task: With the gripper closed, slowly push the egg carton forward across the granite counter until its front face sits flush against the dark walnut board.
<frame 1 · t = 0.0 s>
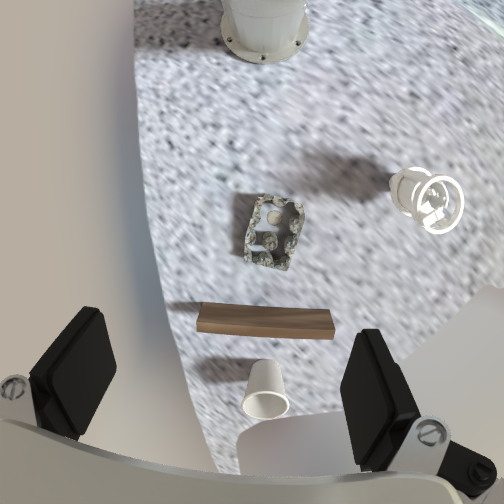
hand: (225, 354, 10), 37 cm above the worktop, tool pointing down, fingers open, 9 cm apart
egg carton: (273, 227, 48), on the worktop
dixie cup: (265, 368, 58), on the worktop
white plastic bottle: (397, 183, 43), on the worktop
walnut board: (266, 311, 53), on the worktop
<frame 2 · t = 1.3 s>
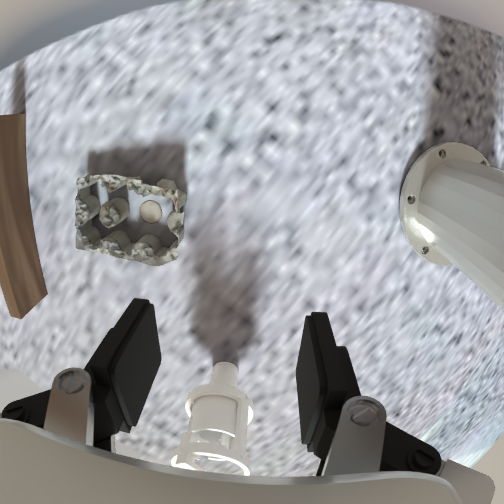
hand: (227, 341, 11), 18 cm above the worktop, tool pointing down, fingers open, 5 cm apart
egg carton: (136, 210, 28), on the worktop
white plastic bottle: (225, 369, 35), on the worktop
walnut board: (25, 209, 28), on the worktop
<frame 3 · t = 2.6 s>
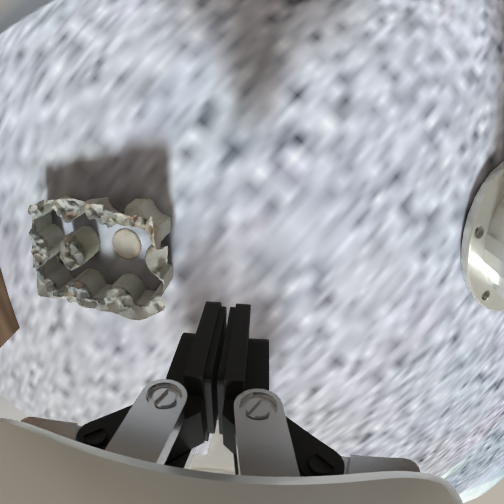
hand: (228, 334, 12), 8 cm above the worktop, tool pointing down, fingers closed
egg carton: (109, 242, 20), on the worktop
white plastic bottle: (229, 425, 27), on the worktop
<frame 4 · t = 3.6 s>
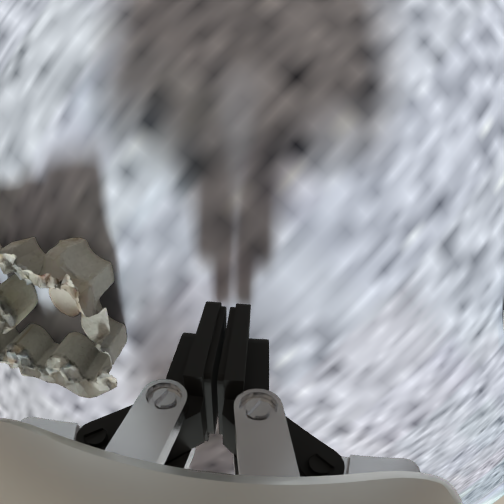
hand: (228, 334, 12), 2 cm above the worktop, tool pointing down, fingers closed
egg carton: (48, 293, 14), on the worktop
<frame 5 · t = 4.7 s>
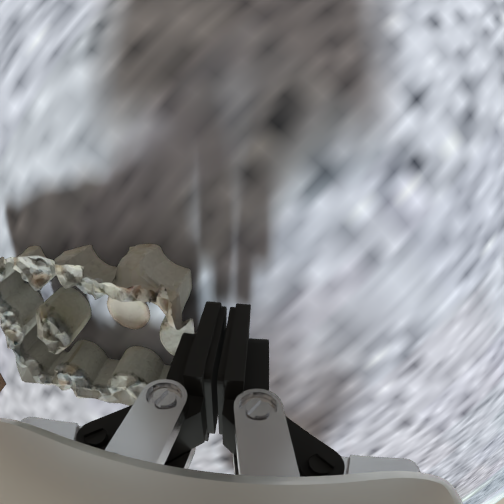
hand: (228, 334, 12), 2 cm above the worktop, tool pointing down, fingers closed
egg carton: (103, 305, 14), on the worktop, touching gripper
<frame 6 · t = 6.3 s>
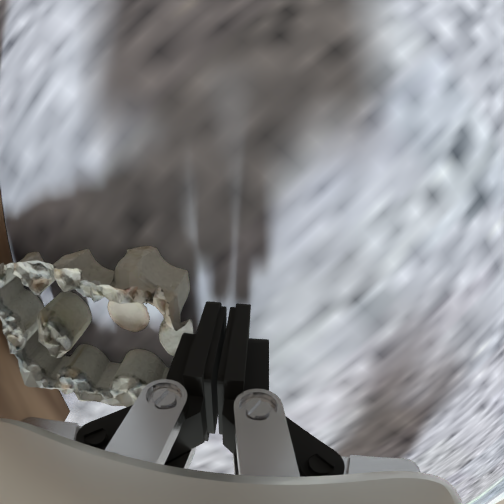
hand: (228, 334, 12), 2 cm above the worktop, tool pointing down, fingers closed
egg carton: (104, 309, 14), on the worktop
walnut board: (7, 281, 13), on the worktop
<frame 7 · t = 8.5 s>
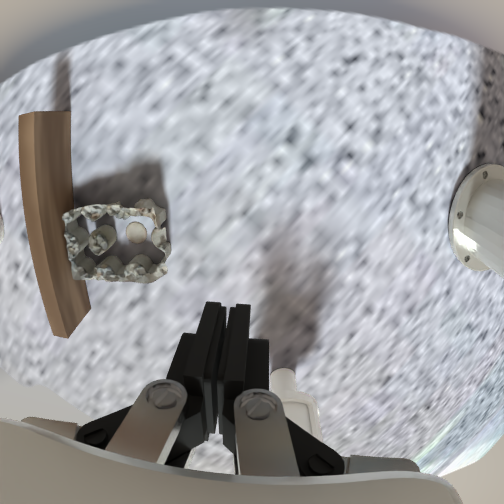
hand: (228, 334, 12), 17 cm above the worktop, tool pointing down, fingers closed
egg carton: (123, 234, 29), on the worktop
white plastic bottle: (282, 375, 36), on the worktop
walnut board: (67, 217, 28), on the worktop
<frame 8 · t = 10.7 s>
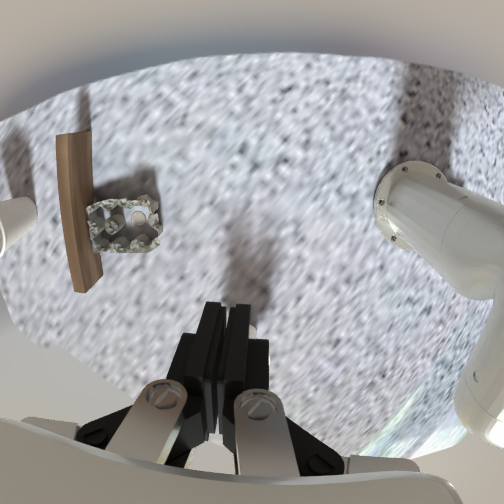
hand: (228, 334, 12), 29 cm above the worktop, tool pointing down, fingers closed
egg carton: (129, 220, 41), on the worktop
dixie cup: (27, 212, 41), on the worktop
walnut board: (89, 206, 40), on the worktop
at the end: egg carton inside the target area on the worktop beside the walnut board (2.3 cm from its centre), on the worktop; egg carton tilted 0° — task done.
